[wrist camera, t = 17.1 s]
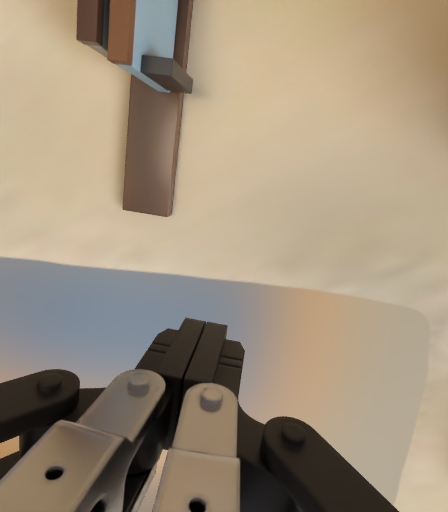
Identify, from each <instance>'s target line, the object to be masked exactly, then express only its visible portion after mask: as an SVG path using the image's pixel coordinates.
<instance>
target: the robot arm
mask: <svg viewBox="0 0 448 512" xmlns="http://www.w3.org/2000/svg"><path fill="white" fill-rule="evenodd" d="M226 334H227V325H222V324H217V323H211V322H207V324H206V321H200V320H195V319H190V318H185V320H184V321H183V323H182V325H181V327H180V329H179V330H173V329H166V330H165V331H163V332H161V333H159V334H158V335H157V336H156V338H155V339H154V341H153V342H152V344H151V345H150V347H149V348H148V350H147V351H146V353H145V354H144V356H143V357H142V359H141V360H140V362H139V363H138V365H137V366H136V368H135V369H134V370H129V371H126V372H123V373H121V374H120V375H118V376H117V377H116V378H115V379H114V380H113V381H112V382H111V383H110V384H109V385H108V387H106V388H89V389H88V388H84V389H79V388H80V381H79V378H78V377H77V376H76V375H75V374H74V373H72V372H70V371H66V370H60V369H52V370H45V371H41V372H38V373H34V374H30V375H27V376H24V377H20V378H17V379H14V380H10V381H7V382H4V383H0V443H2V442H4V441H7V440H9V439H12V438H14V437H17V436H19V451H18V452H15V453H13V454H11V455H9V456H6V457H4V458H1V459H0V512H137V511H138V509H139V507H140V505H141V503H142V501H143V499H144V497H145V494H146V492H147V490H148V488H149V486H150V484H151V482H152V480H153V477H154V475H155V473H156V466H157V462H158V460H159V458H160V455H161V452H162V450H163V449H165V450H168V453H167V456H166V460H165V463H164V467H163V471H162V475H161V479H160V483H159V487H158V490H157V494H156V498H155V502H154V506H153V510H152V512H399V511H398V510H397V509H396V508H395V507H394V506H393V505H392V504H391V503H390V502H389V501H388V500H387V499H386V498H384V497H383V496H382V495H381V494H380V493H379V492H378V491H377V490H376V489H375V488H374V487H373V486H372V485H371V484H370V483H369V482H368V481H367V480H366V479H365V478H364V477H363V476H362V475H361V474H360V473H359V472H358V471H357V470H356V469H355V468H353V467H352V466H351V465H350V464H349V463H348V462H347V461H346V460H345V459H344V458H343V457H342V456H341V455H340V454H339V453H338V452H337V451H336V450H335V449H334V448H333V447H332V446H331V445H330V444H329V443H328V442H327V441H326V440H325V439H324V438H322V437H321V436H320V435H319V434H318V433H317V432H316V431H315V430H314V429H313V428H312V427H311V426H309V425H308V424H306V423H305V422H303V421H301V420H298V419H295V418H292V417H275V418H273V419H270V420H269V421H268V422H267V423H266V424H265V425H264V424H262V423H260V422H258V421H256V420H254V419H252V418H251V417H249V416H248V415H247V414H246V413H245V412H244V411H243V410H242V408H241V407H240V405H239V402H238V394H239V387H240V380H241V373H242V365H243V359H244V352H245V350H244V349H243V347H242V345H241V343H240V342H237V341H232V340H226Z"/></svg>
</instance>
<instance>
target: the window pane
mask: <svg viewBox="0 0 448 512" xmlns="http://www.w3.org/2000/svg"><path fill="white" fill-rule="evenodd" d="M177 9H178V0H110V15H109V35H108V56H107V59H108V60H109V61H110V62H112V63H114V64H116V65H118V66H119V67H121V68H123V69H124V70H126V71H127V72H129V73H130V74H132V75H134V76H135V77H137V78H138V79H140V80H141V81H143V82H145V83H146V84H148V85H149V86H151V87H152V88H154V89H156V90H157V91H160V92H167V93H169V92H170V91H174V92H182V93H190V94H191V93H192V85H193V79H192V78H191V77H190V76H189V75H188V74H187V73H186V72H185V71H184V70H183V69H182V68H181V67H180V66H179V65H178V64H177V62H176V61H175V60H174V59H173V52H174V41H175V30H176V20H177Z"/></svg>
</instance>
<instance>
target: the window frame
mask: <svg viewBox="0 0 448 512" xmlns="http://www.w3.org/2000/svg"><path fill="white" fill-rule="evenodd" d="M192 7H193V0H178V9H177V20H176V30H175V41H174V52H173V59H174V60H175V61H176V62H177V64H178V65H179V66H180V67H181V68H182V69H183V70H184V71H185V72H186V66H187V56H188V46H189V37H190V27H191V17H192ZM109 15H110V0H78V7H77V40H78V41H80V42H81V43H83V44H86V45H88V46H90V47H91V48H93V49H94V50H96V51H98V52H99V53H101V54H102V55H104V56H105V57H107V56H108V35H109ZM183 95H184V93H182V92H174V91H170V92H169V93H167V92H160V91H157V90H156V89H154V88H152V87H151V86H149V85H148V84H146V83H145V82H143V81H141V80H140V79H138V78H137V77H135V76H134V75H132V74H131V87H130V103H129V118H128V133H127V148H126V164H125V179H124V194H123V210H127V211H134V212H140V213H146V214H152V215H158V216H164V217H168V216H170V215H171V213H172V203H173V194H174V184H175V174H176V164H177V154H178V145H179V135H180V125H181V115H182V105H183Z"/></svg>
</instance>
